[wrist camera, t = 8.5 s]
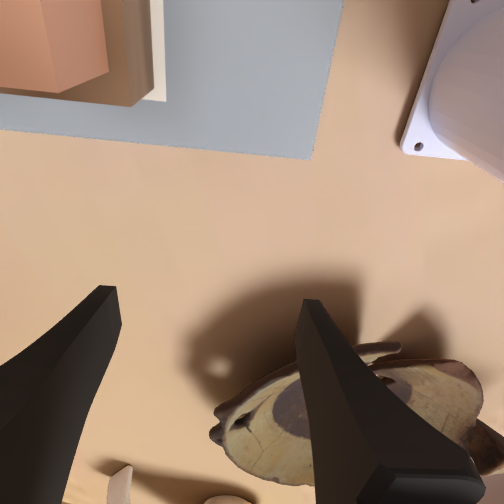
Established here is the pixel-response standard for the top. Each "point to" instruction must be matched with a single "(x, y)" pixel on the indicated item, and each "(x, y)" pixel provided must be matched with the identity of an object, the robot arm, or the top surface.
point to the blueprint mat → (213, 81)
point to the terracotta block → (51, 44)
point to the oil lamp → (297, 425)
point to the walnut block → (115, 59)
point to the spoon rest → (122, 482)
